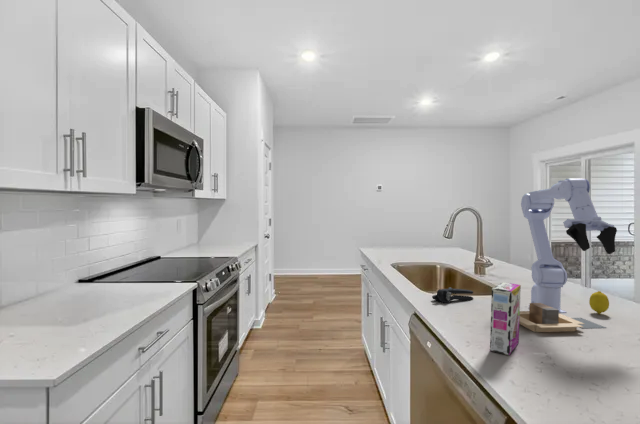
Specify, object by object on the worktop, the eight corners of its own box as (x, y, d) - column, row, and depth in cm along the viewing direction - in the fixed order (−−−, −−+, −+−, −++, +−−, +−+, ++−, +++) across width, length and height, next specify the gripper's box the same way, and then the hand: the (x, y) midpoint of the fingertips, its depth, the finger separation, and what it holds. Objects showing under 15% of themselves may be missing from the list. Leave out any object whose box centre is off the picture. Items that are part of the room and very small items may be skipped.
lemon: (600, 316, 126) (601, 293, 126) (585, 312, 131) (585, 289, 131) (613, 315, 127) (613, 292, 127) (597, 311, 133) (597, 289, 133)
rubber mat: (558, 319, 123) (558, 318, 123) (580, 318, 123) (580, 317, 123) (582, 329, 113) (582, 328, 113) (606, 328, 113) (606, 327, 113)
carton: (501, 319, 123) (501, 311, 122) (552, 318, 124) (552, 310, 124) (532, 336, 107) (533, 327, 107) (591, 334, 108) (591, 326, 108)
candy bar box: (510, 356, 92) (511, 291, 92) (489, 351, 95) (490, 288, 95) (520, 343, 101) (521, 284, 100) (500, 339, 104) (501, 281, 104)
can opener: (441, 305, 140) (441, 290, 140) (430, 300, 147) (430, 286, 146) (479, 301, 145) (479, 287, 145) (467, 297, 152) (467, 284, 152)
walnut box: (529, 321, 119) (529, 303, 119) (540, 321, 119) (540, 302, 119) (546, 329, 111) (546, 310, 111) (558, 329, 112) (558, 309, 111)
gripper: (569, 200, 109) (584, 241, 101) (616, 207, 110) (634, 247, 102) (554, 213, 115) (567, 252, 107) (598, 219, 115) (614, 258, 108)
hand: (598, 251), depth 105 cm, fingers open, 7 cm apart
